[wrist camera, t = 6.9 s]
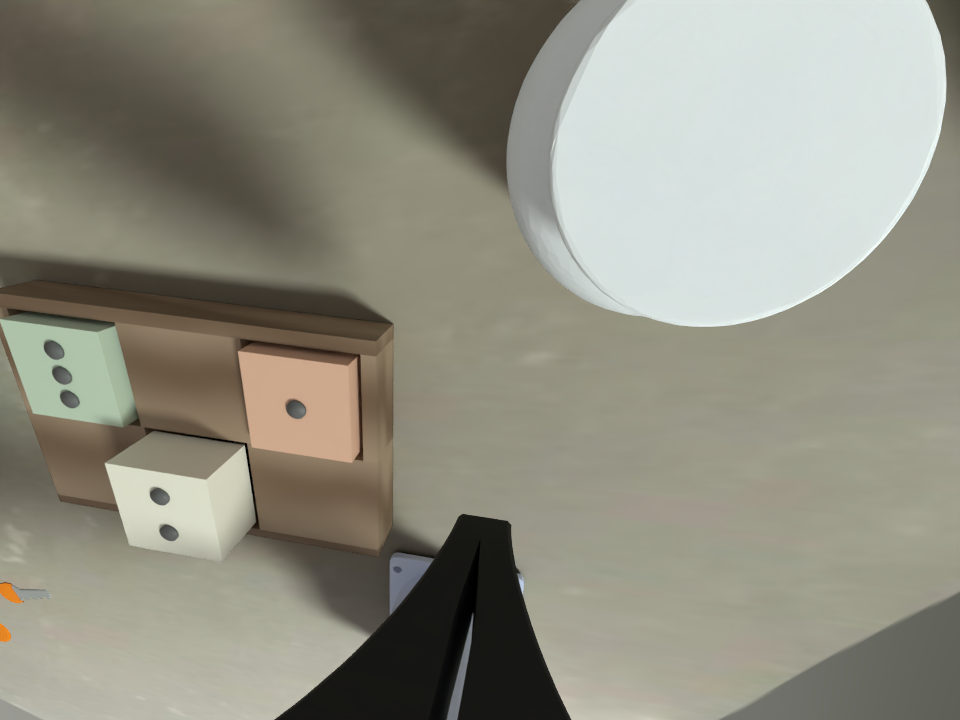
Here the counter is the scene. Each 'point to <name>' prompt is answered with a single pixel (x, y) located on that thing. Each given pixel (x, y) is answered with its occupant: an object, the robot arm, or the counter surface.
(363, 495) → the board
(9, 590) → the key chain
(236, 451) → the key two
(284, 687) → the counter surface
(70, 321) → the key three
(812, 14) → the supplement bottle
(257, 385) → the key one
